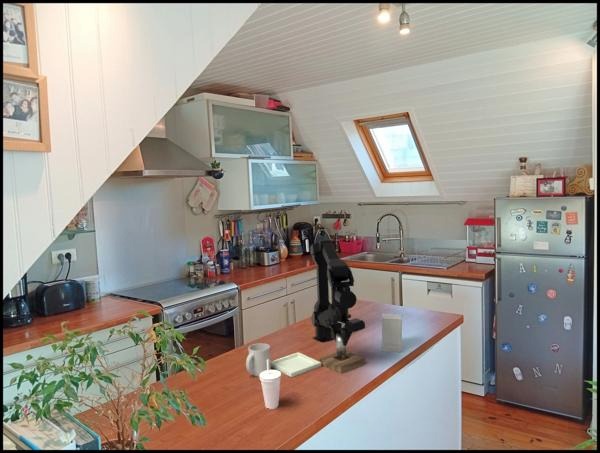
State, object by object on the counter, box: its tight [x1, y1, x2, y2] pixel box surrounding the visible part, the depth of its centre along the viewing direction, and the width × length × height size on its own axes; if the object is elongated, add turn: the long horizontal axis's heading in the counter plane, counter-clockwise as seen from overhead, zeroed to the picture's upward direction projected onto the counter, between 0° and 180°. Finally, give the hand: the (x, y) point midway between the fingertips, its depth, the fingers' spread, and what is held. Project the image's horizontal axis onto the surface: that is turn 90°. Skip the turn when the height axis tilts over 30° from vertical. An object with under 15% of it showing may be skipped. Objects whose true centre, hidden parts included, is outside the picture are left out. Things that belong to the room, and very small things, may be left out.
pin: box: [335, 331, 347, 355], centre depth 160 cm, size 3×3×8 cm
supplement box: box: [381, 313, 403, 353], centre depth 173 cm, size 7×7×13 cm
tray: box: [270, 351, 322, 378], centre depth 161 cm, size 13×13×2 cm
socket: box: [319, 350, 365, 375], centre depth 161 cm, size 11×11×2 cm
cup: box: [245, 342, 272, 377], centre depth 156 cm, size 7×10×9 cm
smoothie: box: [258, 359, 282, 410], centre depth 133 cm, size 6×6×14 cm
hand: (341, 344), depth 160 cm, fingers closed on pin, 3 cm apart
